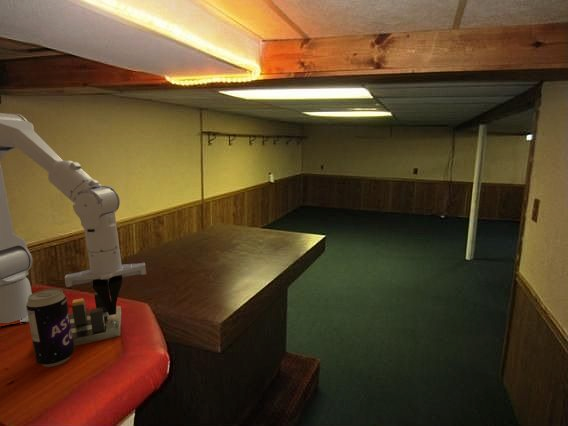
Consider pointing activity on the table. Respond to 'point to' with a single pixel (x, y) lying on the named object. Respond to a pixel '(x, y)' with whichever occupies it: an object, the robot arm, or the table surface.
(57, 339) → the beverage can
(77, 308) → the breaker
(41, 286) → the table surface
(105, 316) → the panel
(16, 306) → the robot arm
